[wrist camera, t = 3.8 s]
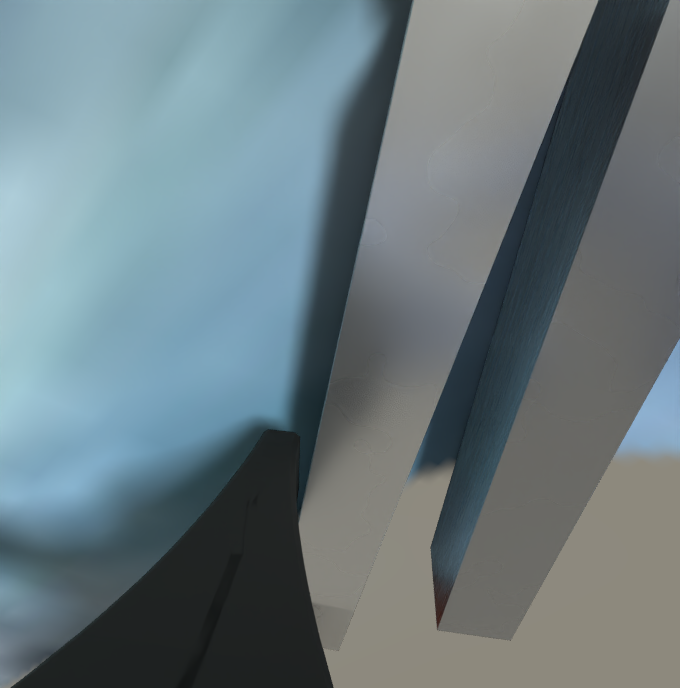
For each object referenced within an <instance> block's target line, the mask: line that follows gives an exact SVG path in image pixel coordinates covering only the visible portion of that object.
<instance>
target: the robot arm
mask: <svg viewBox="0 0 680 688" xmlns="http://www.w3.org/2000/svg"><path fill="white" fill-rule="evenodd" d="M299 458H300V436H298V435H297V434H296V433H294V432H286V431H277V430H269V429H268V430H267V431H265V432H264V433H263V434H262V436H261V438H260V439H259V441H258V442H257V444H256V445H255V447H254V448H253V450H252V451H251V453H250V454H249V456H248V457H247V458H246V460H245V461H244V463H243V464H242V465H241V467H240V468H239V469H238V471H237V472H236V473H235V475H234V476H233V477H232V479H231V480H230V481H229V482H228V484H227V485H226V486H225V487H224V489H223V490H222V491H221V492H220V494H219V495H218V496H217V497H216V499H215V500H214V501H213V502H212V503H211V505H210V506H209V507H208V508H207V509H206V510H205V512H204V513H203V514H202V515H201V516H200V517H199V518H198V519H197V521H196V522H195V523H194V524H193V525H192V526H191V527H190V528H189V530H188V531H187V532H186V533H185V534H184V535H183V536H182V537H181V538H180V540H179V541H178V542H177V543H176V544H175V545H174V546H173V547H172V548H171V549H170V550H169V551H168V552H167V553H166V554H165V555H164V556H163V557H162V558H161V559H160V560H159V561H158V562H157V563H156V564H155V565H154V566H153V567H152V568H151V569H150V570H149V571H148V572H147V573H146V574H145V575H144V576H143V577H142V578H141V579H140V580H139V581H138V582H137V583H135V584H134V585H133V586H132V587H131V588H130V589H129V590H128V591H127V592H126V593H124V594H123V595H122V596H121V597H120V598H119V599H118V600H117V601H116V602H115V603H113V604H112V605H111V606H110V607H109V608H108V609H107V610H106V611H105V612H103V613H102V614H101V615H100V616H99V617H98V618H97V619H95V620H94V621H93V622H92V623H91V624H90V625H88V626H87V627H86V628H85V629H84V630H82V631H81V632H80V633H79V634H78V635H76V636H75V637H74V638H73V639H71V640H70V641H69V642H68V643H66V644H65V645H64V646H63V647H61V648H60V649H59V650H58V651H56V652H55V653H54V654H53V655H51V656H50V657H49V658H48V659H46V660H45V661H44V662H43V663H42V664H40V665H39V666H38V667H37V668H35V669H34V670H33V671H32V672H30V673H29V674H28V675H27V676H25V677H24V678H23V679H21V680H20V681H19V682H17V683H16V684H15V685H13V686H12V687H11V688H333V684H332V680H331V677H330V673H329V670H328V666H327V662H326V658H325V655H324V651H323V647H322V643H321V640H320V636H319V632H318V627H317V623H316V619H315V614H314V610H313V606H312V601H311V596H310V591H309V586H308V581H307V576H306V571H305V565H304V559H303V553H302V546H301V539H300V532H299V524H298V514H297V497H298V490H299Z"/></svg>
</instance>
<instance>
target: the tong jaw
mask: <svg viewBox="0 0 680 688" xmlns="http://www.w3.org/2000/svg"><path fill="white" fill-rule="evenodd" d="M597 3H598V0H412V4H411V8H410V13H409V18H408V22H407V27H406V31H405V36H404V40H403V45H402V50H401V54H400V59H399V63H398V68H397V72H396V77H395V82H394V86H393V91H392V95H391V100H390V104H389V109H388V114H387V118H386V123H385V127H384V132H383V136H382V141H381V146H380V150H379V155H378V159H377V164H376V168H375V173H374V178H373V182H372V187H371V191H370V196H369V200H368V205H367V210H366V214H365V219H364V223H363V228H362V232H361V237H360V242H359V246H358V251H357V255H356V260H355V264H354V269H353V274H352V278H351V283H350V287H349V292H348V296H347V301H346V306H345V310H344V315H343V319H342V324H341V328H340V333H339V338H338V342H337V347H336V351H335V356H334V360H333V365H332V370H331V374H330V379H329V383H328V388H327V392H326V397H325V402H324V406H323V411H322V415H321V420H320V424H319V429H318V434H317V438H316V443H315V447H314V452H313V456H312V461H311V466H310V470H309V475H308V479H307V484H306V488H305V493H304V498H303V502H302V507H301V511H300V516H299V520H298V524H299V532H300V539H301V546H302V553H303V559H304V565H305V571H306V576H307V581H308V586H309V591H310V596H311V601H312V606H313V610H314V614H315V619H316V623H317V627H318V632H319V636H320V640H321V643H322V647H323V648H326V649H331V650H336V651H339V648H340V646H341V644H342V641H343V638H344V636H345V633H346V631H347V629H348V626H349V624H350V621H351V619H352V616H353V614H354V611H355V609H356V606H357V603H358V601H359V599H360V596H361V593H362V591H363V588H364V586H365V583H366V581H367V578H368V576H369V573H370V571H371V568H372V566H373V563H374V561H375V558H376V556H377V553H378V551H379V548H380V546H381V543H382V541H383V538H384V536H385V533H386V531H387V528H388V526H389V523H390V521H391V518H392V516H393V513H394V511H395V508H396V506H397V503H398V501H399V498H400V496H401V493H402V491H403V488H404V486H405V483H406V481H407V478H408V476H409V473H410V471H411V468H412V466H413V463H414V461H415V458H416V456H417V453H418V451H419V448H420V446H421V443H422V441H423V438H424V436H425V433H426V431H427V428H428V426H429V423H430V421H431V418H432V416H433V413H434V411H435V408H436V406H437V403H438V401H439V398H440V396H441V393H442V391H443V388H444V386H445V383H446V381H447V378H448V376H449V373H450V371H451V368H452V366H453V363H454V361H455V358H456V356H457V353H458V351H459V348H460V346H461V343H462V341H463V338H464V336H465V333H466V331H467V328H468V326H469V323H470V321H471V318H472V316H473V313H474V311H475V308H476V306H477V303H478V301H479V298H480V296H481V293H482V291H483V288H484V286H485V283H486V281H487V278H488V276H489V273H490V271H491V268H492V266H493V263H494V261H495V258H496V256H497V253H498V251H499V248H500V245H501V243H502V240H503V238H504V235H505V233H506V230H507V228H508V225H509V223H510V220H511V218H512V215H513V213H514V210H515V208H516V205H517V203H518V200H519V198H520V195H521V193H522V190H523V188H524V185H525V183H526V180H527V178H528V175H529V173H530V170H531V168H532V165H533V163H534V160H535V158H536V155H537V153H538V150H539V148H540V145H541V143H542V140H543V138H544V135H545V133H546V130H547V128H548V125H549V123H550V120H551V118H552V115H553V113H554V110H555V108H556V105H557V103H558V100H559V98H560V95H561V93H562V90H563V88H564V85H565V83H566V80H567V78H568V75H569V73H570V70H571V68H572V65H573V63H574V60H575V58H576V55H577V53H578V50H579V48H580V45H581V43H582V40H583V38H584V35H585V33H586V30H587V28H588V25H589V23H590V20H591V18H592V15H593V13H594V10H595V8H596V5H597Z"/></svg>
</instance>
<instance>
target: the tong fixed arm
mask: <svg viewBox="0 0 680 688" xmlns="http://www.w3.org/2000/svg"><path fill="white" fill-rule="evenodd" d="M679 338H680V0H598V3H597V5H596V8H595V10H594V13H593V15H592V18H591V20H590V23H589V25H588V28H587V30H586V33H585V35H584V38H583V40H582V43H581V45H580V48H579V50H578V53H577V55H576V58H575V61H574V64H573V67H572V71H571V74H570V78H569V81H568V84H567V88H566V91H565V94H564V98H563V101H562V105H561V108H560V111H559V115H558V118H557V121H556V125H555V128H554V132H553V135H552V138H551V142H550V145H549V149H548V152H547V155H546V159H545V162H544V165H543V169H542V172H541V176H540V179H539V182H538V186H537V189H536V193H535V196H534V199H533V203H532V206H531V209H530V213H529V216H528V220H527V223H526V226H525V230H524V233H523V237H522V240H521V243H520V247H519V250H518V253H517V257H516V260H515V264H514V267H513V270H512V274H511V277H510V281H509V284H508V287H507V291H506V294H505V297H504V301H503V304H502V308H501V311H500V314H499V318H498V321H497V325H496V328H495V331H494V335H493V338H492V341H491V345H490V348H489V352H488V355H487V358H486V362H485V365H484V369H483V372H482V375H481V379H480V382H479V385H478V389H477V392H476V396H475V399H474V402H473V406H472V409H471V412H470V416H469V419H468V423H467V426H466V429H465V433H464V436H463V440H462V443H461V446H460V450H459V453H458V456H457V460H456V463H455V467H454V470H453V473H452V477H451V480H450V484H449V487H448V490H447V494H446V497H445V500H444V504H443V508H442V511H441V514H440V517H439V521H438V524H437V528H436V531H435V534H434V538H433V541H432V544H431V558H432V571H433V582H434V583H433V584H434V596H435V608H436V621H437V622H436V623H437V630H439V631H447V632H453V633H461V634H467V635H475V636H482V637H489V638H496V639H504V640H510V641H511V639H512V637H513V635H514V633H515V632H516V630H517V628H518V626H519V625H520V623H521V621H522V619H523V617H524V616H525V614H526V612H527V610H528V609H529V607H530V605H531V603H532V601H533V599H534V598H535V596H536V594H537V592H538V591H539V589H540V587H541V585H542V583H543V582H544V580H545V578H546V576H547V575H548V573H549V571H550V569H551V567H552V566H553V564H554V562H555V560H556V558H557V556H558V555H559V553H560V551H561V550H562V548H563V546H564V544H565V542H566V540H567V539H568V536H569V535H570V533H571V532H572V530H573V528H574V526H575V524H576V523H577V521H578V519H579V517H580V516H581V514H582V512H583V510H584V508H585V507H586V505H587V503H588V501H589V499H590V498H591V496H592V494H593V492H594V490H595V489H596V487H597V485H598V483H599V482H600V480H601V478H602V476H603V474H604V473H605V471H606V469H607V467H608V465H609V464H610V461H611V460H612V458H613V456H614V455H615V453H616V451H617V449H618V448H619V446H620V444H621V442H622V440H623V439H624V437H625V435H626V433H627V431H628V430H629V428H630V426H631V424H632V422H633V421H634V419H635V417H636V415H637V414H638V412H639V410H640V408H641V406H642V405H643V403H644V401H645V399H646V397H647V396H648V394H649V392H650V390H651V389H652V387H653V385H654V383H655V381H656V380H657V378H658V376H659V374H660V372H661V371H662V369H663V367H664V365H665V363H666V362H667V360H668V358H669V356H670V355H671V353H672V351H673V349H674V347H675V346H676V344H677V342H678V340H679Z"/></svg>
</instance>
